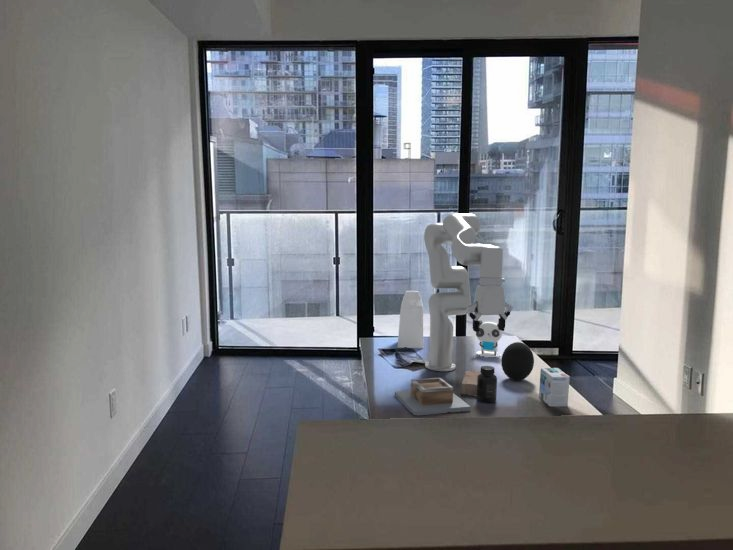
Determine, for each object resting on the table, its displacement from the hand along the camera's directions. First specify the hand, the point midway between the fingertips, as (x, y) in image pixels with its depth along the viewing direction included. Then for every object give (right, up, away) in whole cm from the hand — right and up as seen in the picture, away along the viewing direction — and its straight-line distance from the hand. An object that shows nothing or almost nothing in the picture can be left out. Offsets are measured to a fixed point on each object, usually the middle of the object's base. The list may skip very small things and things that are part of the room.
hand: (488, 330), depth 208 cm
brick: (-2, -24, +16) cm, 28 cm away
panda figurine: (+13, -17, +64) cm, 68 cm away
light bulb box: (+23, -26, +4) cm, 35 cm away
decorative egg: (+16, -22, +27) cm, 39 cm away
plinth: (-20, -23, -1) cm, 31 cm away
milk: (-21, -14, +78) cm, 82 cm away
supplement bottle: (0, -25, +3) cm, 25 cm away
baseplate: (-20, -25, -1) cm, 32 cm away
